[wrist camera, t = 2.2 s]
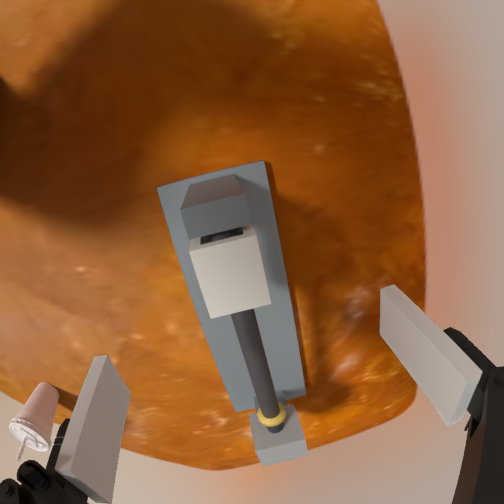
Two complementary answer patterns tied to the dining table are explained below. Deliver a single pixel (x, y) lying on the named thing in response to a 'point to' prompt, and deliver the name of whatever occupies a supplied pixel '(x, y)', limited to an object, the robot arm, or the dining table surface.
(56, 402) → the smoothie
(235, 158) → the dining table surface
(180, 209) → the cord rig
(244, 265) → the sleeve
